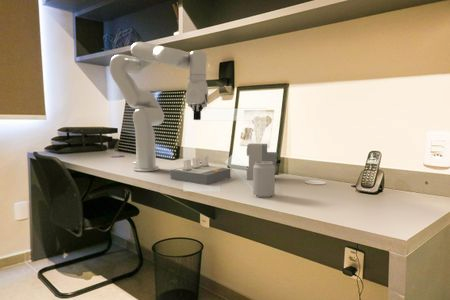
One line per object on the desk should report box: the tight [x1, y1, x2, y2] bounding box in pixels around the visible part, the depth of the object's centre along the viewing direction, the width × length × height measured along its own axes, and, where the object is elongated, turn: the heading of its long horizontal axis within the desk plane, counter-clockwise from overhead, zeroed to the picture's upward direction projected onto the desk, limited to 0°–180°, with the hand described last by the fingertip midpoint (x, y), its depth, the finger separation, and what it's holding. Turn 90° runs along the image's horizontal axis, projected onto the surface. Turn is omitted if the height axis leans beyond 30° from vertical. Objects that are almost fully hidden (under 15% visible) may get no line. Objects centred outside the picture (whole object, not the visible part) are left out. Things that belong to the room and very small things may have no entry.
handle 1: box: [182, 158, 192, 170], centre depth 140 cm, size 3×3×4 cm
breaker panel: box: [170, 165, 231, 186], centre depth 144 cm, size 20×17×4 cm
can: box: [252, 161, 276, 198], centre depth 114 cm, size 8×8×12 cm
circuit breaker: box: [246, 142, 282, 181], centre depth 143 cm, size 8×14×15 cm, turn 78°
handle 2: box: [200, 155, 210, 166], centre depth 150 cm, size 3×3×4 cm
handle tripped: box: [191, 156, 201, 168], centre depth 145 cm, size 3×3×4 cm
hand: (197, 119), depth 151 cm, fingers closed
